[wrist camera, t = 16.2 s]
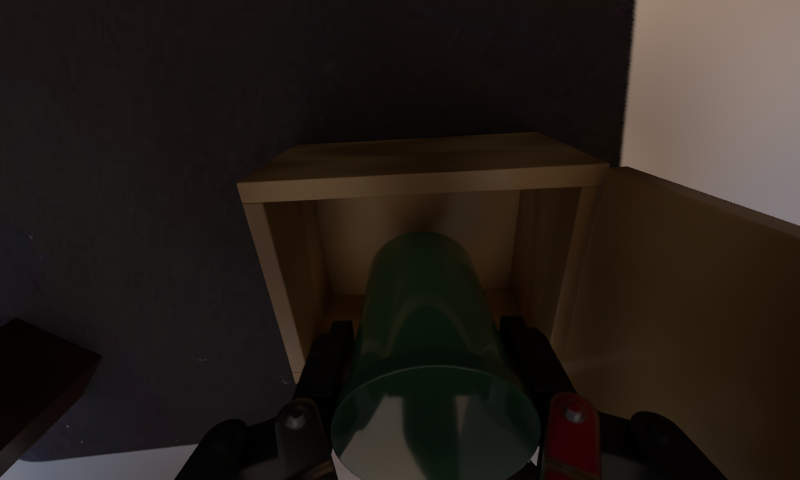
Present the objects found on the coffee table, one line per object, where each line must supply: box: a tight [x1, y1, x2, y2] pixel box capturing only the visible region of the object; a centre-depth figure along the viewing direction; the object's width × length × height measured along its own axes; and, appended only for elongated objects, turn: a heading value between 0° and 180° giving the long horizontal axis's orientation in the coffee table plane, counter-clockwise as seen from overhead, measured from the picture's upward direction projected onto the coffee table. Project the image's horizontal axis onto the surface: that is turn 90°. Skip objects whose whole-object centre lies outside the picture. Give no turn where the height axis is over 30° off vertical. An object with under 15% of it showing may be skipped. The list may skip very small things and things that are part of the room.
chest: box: [237, 132, 610, 383], centre depth 19 cm, size 15×12×8 cm
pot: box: [330, 231, 541, 480], centre depth 13 cm, size 6×6×8 cm
